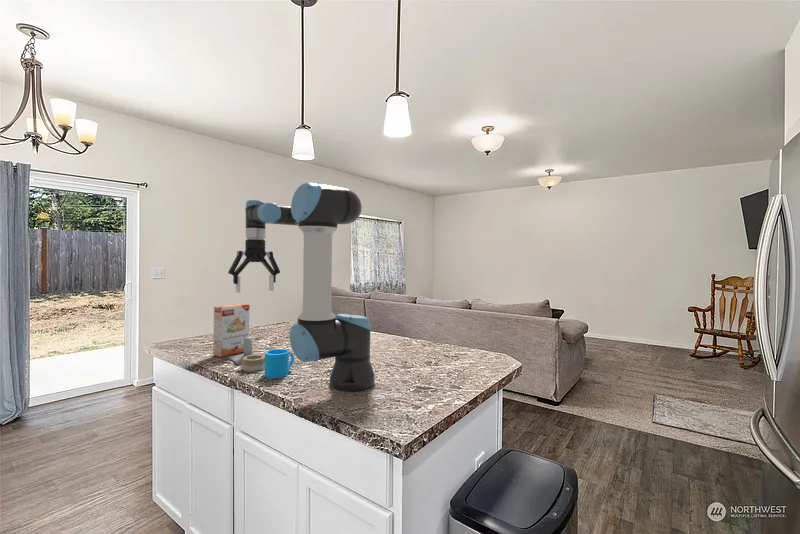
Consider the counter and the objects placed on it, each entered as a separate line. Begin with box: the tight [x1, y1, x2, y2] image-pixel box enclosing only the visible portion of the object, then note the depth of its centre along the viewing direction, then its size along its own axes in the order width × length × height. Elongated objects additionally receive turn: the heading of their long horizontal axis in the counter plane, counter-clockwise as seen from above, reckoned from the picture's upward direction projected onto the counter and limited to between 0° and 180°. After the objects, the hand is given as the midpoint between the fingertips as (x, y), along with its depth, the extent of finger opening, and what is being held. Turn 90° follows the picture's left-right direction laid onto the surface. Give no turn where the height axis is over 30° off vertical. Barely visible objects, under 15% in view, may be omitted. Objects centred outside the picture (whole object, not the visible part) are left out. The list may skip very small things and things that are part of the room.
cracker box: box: [212, 303, 250, 358], centre depth 160 cm, size 14×6×21 cm, turn 153°
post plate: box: [227, 336, 263, 366], centre depth 153 cm, size 12×12×9 cm
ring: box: [241, 354, 265, 372], centre depth 140 cm, size 8×8×4 cm
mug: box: [264, 348, 295, 379], centre depth 135 cm, size 12×8×8 cm
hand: (255, 291), depth 151 cm, fingers open, 13 cm apart
